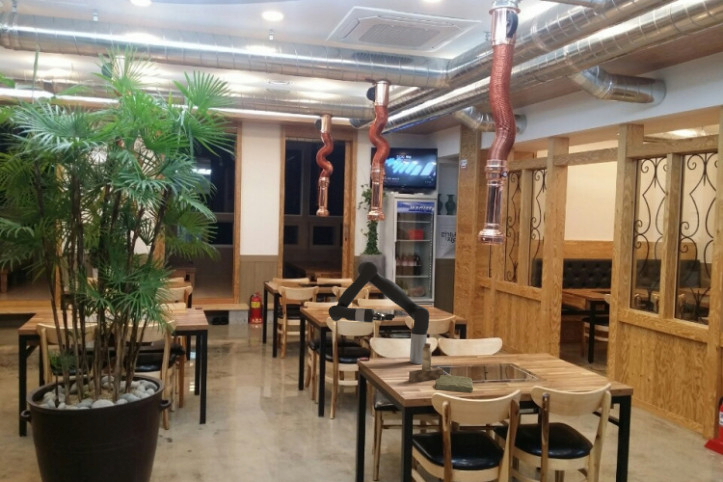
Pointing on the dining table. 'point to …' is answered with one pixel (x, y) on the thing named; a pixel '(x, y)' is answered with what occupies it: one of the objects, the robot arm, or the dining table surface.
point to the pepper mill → (426, 357)
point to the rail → (425, 375)
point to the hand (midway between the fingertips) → (393, 317)
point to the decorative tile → (454, 383)
